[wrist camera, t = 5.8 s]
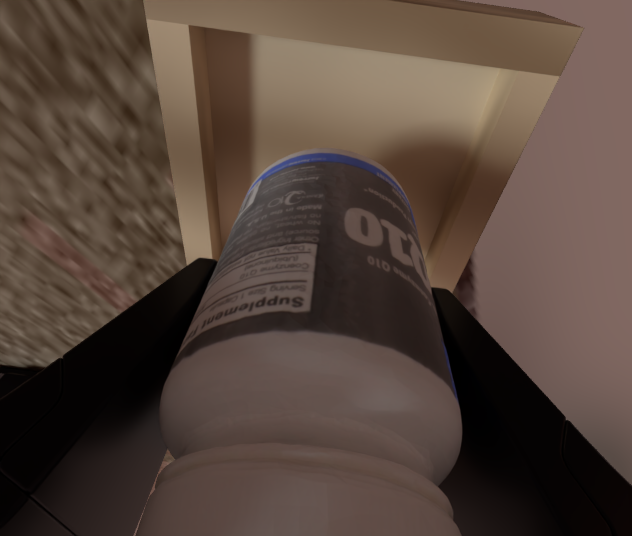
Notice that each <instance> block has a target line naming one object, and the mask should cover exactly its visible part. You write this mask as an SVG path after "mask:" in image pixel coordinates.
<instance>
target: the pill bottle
mask: <svg viewBox="0 0 632 536" xmlns="http://www.w3.org/2000/svg"><path fill="white" fill-rule="evenodd" d="M159 424H160V430H161V434H162V437H163V440H164V442H165V444H166V446H167V448H168V450H169V451H170V453H171V454H172V456H173V457H174V458H175V460H174V461H173V462H171V463H170V464H169V465H167V466H166V467H165V468H164V469H163V470H162V471H161V473H160V474H159V475H158V477H157V481H156V485H155V490H154V492H153V493H152V494H151V495H150V497H149V499H148V501H147V504H146V506H145V509H144V512H143V515H142V518H141V521H140V524H139V527H138V530H137V533H136V536H461V533H460V531H459V528H458V526H457V525H456V524H455V523H454V521H453V509H452V507H451V504H450V502H449V500H448V498H447V496H446V495H445V494H444V493H443V492H442V491H441V490H440V488H439V487H438V486H439V485H440V484H441V483H442V482H443V481H444V479H445V478H446V477H447V476H448V475H449V473H450V472H451V470H452V468H453V467H454V465H455V463H456V461H457V458H458V455H459V453H460V448H461V442H462V421H461V413H460V407H459V402H458V398H457V393H456V389H455V385H454V381H453V377H452V373H451V368H450V364H449V359H448V355H447V351H446V347H445V345H444V341H443V337H442V332H441V328H440V324H439V320H438V316H437V311H436V307H435V302H434V299H433V296H432V289H431V286H430V282H429V278H428V275H427V269H426V266H425V262H424V257H423V254H422V249H421V245H420V241H419V237H418V232H417V228H416V223H415V219H414V216H413V212H412V209H411V206H410V203H409V200H408V198H407V196H406V194H405V192H404V190H403V189H402V187H401V185H400V184H399V183H398V181H397V180H396V179H395V178H394V176H393V175H392V174H391V173H390V172H389V171H388V170H387V169H385V168H384V167H383V166H382V165H380V164H379V163H377V162H375V161H374V160H372V159H369V158H367V157H365V156H363V155H360V154H358V153H355V152H351V151H347V150H342V149H336V148H314V149H310V150H304V151H300V152H297V153H294V154H291V155H289V156H286V157H284V158H282V159H280V160H278V161H277V162H275V163H273V164H272V165H270V166H269V167H268V168H266V169H265V170H264V171H263V172H262V173H261V174H260V175H259V176H258V177H257V179H256V180H255V181H254V183H253V184H252V185H251V187H250V189H249V191H248V193H247V195H246V197H245V199H244V201H243V204H242V206H241V208H240V210H239V213H238V216H237V218H236V220H235V222H234V225H233V227H232V230H231V232H230V235H229V237H228V240H227V242H226V244H225V247H224V249H223V252H222V254H221V256H220V259H219V261H218V263H217V266H216V268H215V270H214V272H213V275H212V277H211V279H210V281H209V283H208V286H207V289H206V291H205V293H204V295H203V297H202V300H201V302H200V304H199V307H198V309H197V311H196V313H195V316H194V318H193V320H192V322H191V325H190V327H189V329H188V331H187V334H186V336H185V338H184V340H183V343H182V345H181V347H180V350H179V352H178V354H177V356H176V359H175V361H174V363H173V365H172V367H171V370H170V373H169V375H168V377H167V379H166V382H165V384H164V387H163V391H162V395H161V400H160V406H159Z"/></svg>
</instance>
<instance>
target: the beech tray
mask: <svg viewBox="0 0 632 536" xmlns="http://www.w3.org/2000/svg"><path fill="white" fill-rule="evenodd" d="M143 2H144V8H145V14H146V20H147V26H148V32H149V38H150V44H151V50H152V56H153V63H154V69H155V75H156V81H157V87H158V93H159V99H160V105H161V111H162V117H163V123H164V129H165V135H166V141H167V147H168V153H169V159H170V165H171V171H172V177H173V184H174V190H175V196H176V202H177V208H178V214H179V220H180V226H181V232H182V238H183V244H184V250H185V256H186V262H187V265H189V264H190V263H192V262H193V261H194V260H196V259H197V258H209V259H215V260H217V261H219V259H220V256H221V254H222V252H223V249H224V247H225V244H226V242H227V240H228V237H229V235H230V232H231V230H232V227H233V225H234V222H235V220H236V218H237V216H238V213H239V210H240V208H241V206H242V204H243V201H244V199H245V197H246V195H247V193H248V191H249V189H250V187H251V185H252V184H253V183H254V181H255V180H256V179H257V177H258V176H259V175H260V174H261V173H262V172H263V171H264V170H265V169H266V168H268V167H269V166H270V165H272V164H273V163H275V162H277V161H278V160H280V159H282V158H284V157H286V156H289V155H291V154H294V153H297V152H300V151H304V150H310V149H314V148H336V149H342V150H347V151H351V152H355V153H358V154H360V155H363V156H365V157H367V158H369V159H372V160H374V161H375V162H377V163H379V164H380V165H382V166H383V167H384V168H385V169H387V170H388V171H389V172H390V173H391V174H392V175H393V176H394V178H395V179H396V180H397V181H398V183H399V184H400V185H401V187H402V189H403V190H404V192H405V194H406V196H407V198H408V200H409V203H410V206H411V209H412V212H413V216H414V219H415V223H416V228H417V232H418V237H419V241H420V245H421V249H422V254H423V257H424V262H425V266H426V269H427V275H428V278H429V282H430V286H431V287H436V288H444V289H448V290H449V291H450V292H451V293H452V292H453V290H454V288H455V286H456V284H457V282H458V280H459V278H460V276H461V274H462V272H463V270H464V268H465V266H466V264H467V262H468V260H469V258H470V256H471V254H472V252H473V250H474V248H475V246H476V244H477V242H478V240H479V238H480V236H481V234H482V232H483V230H484V228H485V226H486V224H487V222H488V220H489V218H490V216H491V213H492V212H493V210H494V208H495V206H496V204H497V202H498V200H499V198H500V196H501V194H502V192H503V190H504V188H505V186H506V184H507V182H508V180H509V178H510V176H511V174H512V172H513V170H514V168H515V166H516V164H517V162H518V160H519V158H520V156H521V154H522V152H523V150H524V148H525V146H526V144H527V142H528V140H529V138H530V135H531V134H532V132H533V130H534V128H535V126H536V124H537V122H538V120H539V118H540V116H541V114H542V112H543V110H544V108H545V106H546V104H547V102H548V100H549V97H550V96H551V94H552V92H553V89H554V88H555V86H556V84H557V82H558V80H559V78H560V76H561V74H562V72H563V69H564V68H565V66H566V63H567V62H568V60H569V58H570V56H571V54H572V52H573V49H574V48H575V45H576V44H577V42H578V40H579V38H580V35H581V33H582V31H583V30H584V28H583V27H580V26H577V25H575V24H572V23H569V22H566V21H563V20H560V19H558V18H555V17H552V16H549V15H546V14H544V13H541V12H537V11H530V10H523V9H516V8H509V7H501V6H494V5H487V4H480V3H473V2H466V1H459V0H143Z"/></svg>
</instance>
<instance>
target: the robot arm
mask: <svg viewBox="0 0 632 536" xmlns="http://www.w3.org/2000/svg"><path fill="white" fill-rule="evenodd" d="M217 263H218V261H217V260H215V259H209V258H197V259H196V260H194V261H193V262H192V263H190V264H189V265H187V266H186V267H185V268H183V269H182V270H181V271H179V272H178V273H176V274H175V275H174V276H172V277H171V278H169V279H168V280H167V281H165V282H164V283H163V284H161V285H160V286H158V287H157V288H156V289H154V290H153V291H151V292H150V293H149V294H147V295H146V296H145V297H143V298H142V299H140V300H139V301H138V302H136V303H135V304H133V305H132V306H131V307H129V308H128V309H126V310H125V311H124V312H122V313H121V314H120V315H118V316H117V317H115V318H114V319H113V320H111V321H110V322H108V323H107V324H106V325H104V326H103V327H102V328H100V329H99V330H97V331H96V332H95V333H93V334H92V335H90V336H89V337H88V338H86V339H85V340H84V341H82V342H81V343H79V344H78V345H77V346H75V347H74V348H72V349H71V350H70V351H68V352H67V353H66V354H64V355H63V359H62V358H58V359H57V360H56V361H54V362H53V363H51V364H50V365H49V366H47V367H46V368H44V369H43V370H42V371H40V372H32V371H24V370H16V369H8V368H0V536H133V535H134V533H135V530H136V528H137V525H138V522H139V520H140V517H141V515H142V512H143V510H144V507H145V505H146V502H147V499H148V497H149V494H150V492H151V489H152V487H153V484H154V482H155V479H156V477H157V474H158V471H159V469H160V466H161V464H162V461H163V459H164V456H165V454H166V451H167V446H166V444H165V442H164V440H163V437H162V434H161V430H160V424H159V406H160V400H161V395H162V391H163V387H164V384H165V382H166V379H167V377H168V375H169V373H170V370H171V367H172V365H173V363H174V361H175V359H176V356H177V354H178V352H179V350H180V347H181V345H182V343H183V340H184V338H185V336H186V334H187V331H188V329H189V327H190V325H191V322H192V320H193V318H194V316H195V313H196V311H197V309H198V307H199V304H200V302H201V300H202V297H203V295H204V293H205V291H206V289H207V286H208V283H209V281H210V279H211V277H212V275H213V272H214V270H215V268H216V266H217ZM431 289H432V296H433V299H434V302H435V307H436V311H437V316H438V320H439V324H440V328H441V332H442V337H443V341H444V345H445V347H446V351H447V355H448V359H449V364H450V368H451V373H452V377H453V381H454V385H455V389H456V393H457V398H458V402H459V407H460V413H461V421H462V442H461V448H460V453H459V455H458V458H457V461H456V463H455V465H454V467H453V468H452V470H451V472H450V473H449V475H448V476H447V477H446V478H445V479H444V481H443V482H442V483H441V484H440V485H439V486H438V487H439V488H440V490H441V491H442V492H443V493H444V494H445V495H446V496H447V498H448V500H449V502H450V504H451V507H452V509H453V521H454V523H455V524H456V525H457V526H458V528H459V531H460V533H461V536H632V485H631V484H629V482H627V481H626V480H625V478H623V476H621V474H619V473H618V472H617V471H616V470H615V469H614V468H613V467H612V466H611V465H610V464H609V462H608V461H607V460H606V459H605V458H604V457H603V456H602V455H601V454H600V453H599V452H598V451H597V450H596V449H595V448H594V447H593V446H592V445H591V444H590V443H589V442H588V441H587V439H586V438H585V437H584V436H583V435H582V434H581V433H580V432H579V431H578V430H577V429H576V428H575V427H574V425H573V424H572V423H571V422H570V421H568V420H566V417H565V416H564V415H563V414H562V413H561V411H560V410H559V409H558V408H557V407H556V406H555V405H554V404H553V403H552V402H551V400H550V399H549V398H548V397H547V396H546V395H545V394H544V393H543V392H542V391H541V390H540V389H539V387H538V386H537V385H536V384H535V383H534V382H533V381H532V380H531V379H530V378H529V377H528V376H527V374H526V373H525V372H524V371H523V370H522V369H521V368H520V367H519V366H518V365H517V364H516V362H515V361H514V360H513V359H512V358H511V357H510V356H509V355H508V354H507V353H506V352H505V350H504V349H503V348H502V347H501V346H500V345H499V344H498V343H497V342H496V341H495V340H494V339H493V337H491V336H490V334H489V333H488V332H487V331H486V330H485V329H484V328H483V327H482V325H481V324H480V323H479V322H478V321H477V320H476V319H475V318H474V317H473V316H472V315H471V314H470V312H469V311H468V310H467V309H466V308H465V307H464V306H463V305H462V304H461V303H460V302H459V300H458V299H457V298H456V297H455V296H454V295H453V294H452V293H451V292H450V291H449V290H448V289H444V288H436V287H431Z"/></svg>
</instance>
